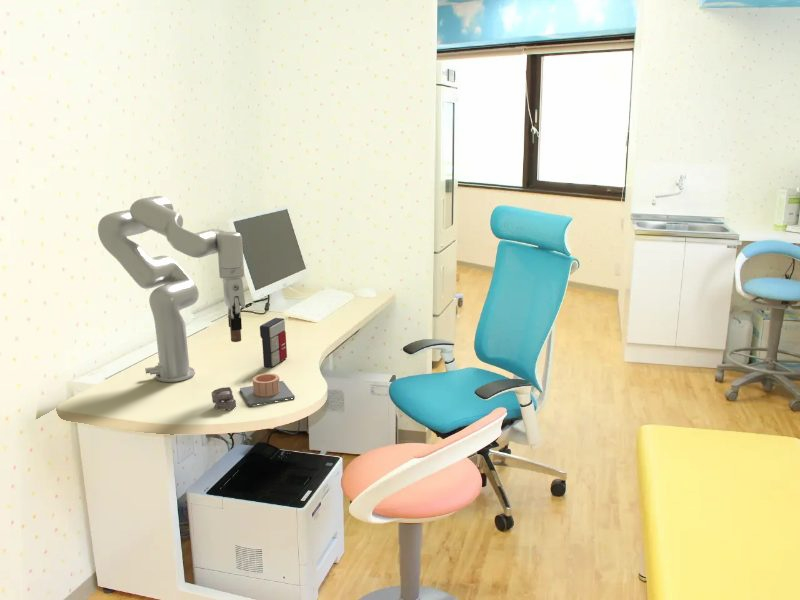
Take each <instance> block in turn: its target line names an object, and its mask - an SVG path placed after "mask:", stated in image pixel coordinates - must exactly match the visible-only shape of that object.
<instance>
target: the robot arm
mask: <svg viewBox="0 0 800 600" xmlns="http://www.w3.org/2000/svg"><path fill="white" fill-rule="evenodd" d="M183 225H184V219H183V216H182V214H181V213H179V212H177V211H175V210H174V206H173V204H172V202H171V201H170V200H169V199H168V198H166V197H164V196H162V195H157V196H149V197H144V198H139V199H136V201H134V202H133V203H132V204H131V205H130V208H129V209H126V210H120V211H114V212H111V213H108V214H105V215H104V216H102V218H100V220H99V222H98V226H97V233H98V238H99V240H100V242H101V245H102V246H103V247H104V249H105V250H106V251H107V252H108V253H109V254H110V255H111V256H112V257H114V259H116V260H117V262H119V264H120V265H121V267H122V268H123V269H124V270H125V271H126V272H127V273H128V275H129V277H131V278H132V279H133V280H134V282H135V283H136V284H137V285H138V287H140V288H142V289H145V290H148V289H153V288H155V289H153V290H152V292H151V293H150V295H149V301H148V302H149V306H150V307H149V308H150V309H151V312H152V316H153V321H154V327H155V334H156V336H155V337H156V344H157V352H158V353H157V354H158V355H157V356H158V362H157V364H156V365H154V366H152V367H144V368H145V369H144V370H145V374H149V375H150V376H152V375H155V379H156V380H157V381H159V382H164V383H175V382H176V383H178V382H183V381H185V380H189V379H191V378H192V377H194V375H195V374H196V372H195V371H196V370H195V368H193V367H190V359H189V351H188V349H189V348H188V339H187V329H186V323H185V320H184V317H182V314H181V313H180V311H182V310H183V309H185V308H189V307H191V306H193V305H195V304H196V302H197V301H198V300H199V297H200V295H199V294H200V293H199V289H198V286H197V285H196V284H195V282H194V281H193V280H192V278H191V277H190V276H189V274H188V273H187V272H185V270H184V269H183V267H181V265H180V264H179V263H178V262H177V261H176V260H175V259H173V258H172V257H170V256H167V255H159V256H155V257H151V256H150V255H148V254H147V252H146V251H144V249H143V247H141V246H140V245H139V244H138V243H136V242H134V241H133V240H131V239H129V238H128V237H129V236H130V237H131V236H136V235H140V234H143V233H146V232H148V231H150V230H151V231H154V232H155V233H158V234H160V235H162V236H164V237H165V238H166V240H167V242H168V243H169V245H170V246H171V247H172V248H173V249H175V250H176V251H178V252H180V253H183V254H184V255H186V256H188V257H191V258H196V259H197V258H204V257H206V256H209V255H215V254H217V258H218V271H219V272H218V273H219V278H220V279H222V282H223V283H222V285H223V286H222V287H223V288H222V289H223V299H224V303H225V306H226V307H227V313H228V315H227V319H228V321H227V322H228V327H229V328H230V317H229V309H231V317H232V318H231V330H232V331H235V330H242V329H243V328H242V327H243V326H242V315H241V314H242V313H241V308H242V309H246V300H245V298H246V297H245V288H244V282H243V278H245V264H244V247H243V236H242V234H241V233H240V232H236V231H224V230H221V229H218V228H217V229H215V228H212V229H208V230H202V231H199V232H195V233H194V232H191V231H189V230H187V229H185V228H183ZM233 307H235V308H233ZM233 311H235V312H234V313H233Z"/></svg>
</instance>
